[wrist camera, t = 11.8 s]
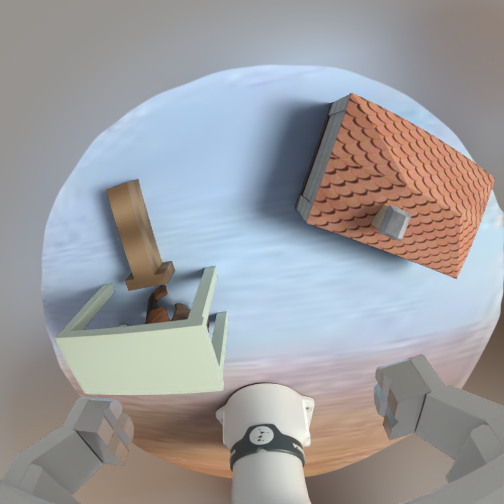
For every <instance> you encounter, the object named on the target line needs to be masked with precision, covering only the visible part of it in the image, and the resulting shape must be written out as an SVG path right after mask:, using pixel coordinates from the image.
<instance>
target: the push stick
mask: <svg viewBox="0 0 504 504" xmlns="http://www.w3.org/2000/svg"><path fill="white" fill-rule="evenodd" d="M106 191H107V194H108V198H109V202H110V205H111V209H112V212H113V216H114V219H115V222H116V226H117V229H118V232H119V235H120V238H121V242H122V245H123V248H124V251H125V254H126V257H127V260H128V263H129V266H130V268H131V271H132V274H131V275H130V276H129V277H128V278H127V279H126V281H125V282H126V285H127V288H128V290H129V291H130V290H136V289H141V288H146V287H152V286H157V285H162V284H167V283H168V282H169V280H170V278H171V277H172V275H173V273H174V271H175V269H174V266H173V263H172V261H170V262H165V263H162V260H161V257H160V254H159V250H158V247H157V244H156V241H155V237H154V234H153V231H152V227H151V224H150V220H149V217H148V213H147V210H146V206H145V203H144V199H143V195H142V192H141V188H140V184H139V180H138V179H137V180H134V181H131V182H128V183H125V184H122V185H118V186H115V187H113V188H110V189H107V190H106Z"/></svg>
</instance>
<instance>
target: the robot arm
mask: <svg viewBox="0 0 504 504" xmlns="http://www.w3.org/2000/svg"><path fill="white" fill-rule="evenodd" d="M375 377H376V380H377V382H378V383H377V385H376V386H375V387H374V400H375V405H376V409H377V411H378V414H379V415H381V416H382V417H384V423H383V426H384V428H385V431H386V433H387V435H388V438H389V440H393V439H396V438H399V437H403V436H406V435H409V434H412V433H415V434H416V435H417V436H419V437H420V438H422V439H423V440H425V441H426V442H428V443H429V444H431V445H432V446H434V447H435V448H437V449H439V450H440V451H442V452H443V453H445V454H446V455H448V456H449V457H451V458H453V459H454V460H455V461H454V463H453V465H452V467H451V468H450V470H449V471H448V473H447V475H446V479H447V481H448V483H449V484H447V485H444V486H442V487H440V488H438V489H436V490H433V491H431V492H429V493H426V494H424V495H421V496H418V497H416V498H413V499H411V500H408V501H405V502H403V503H400V504H504V406H502V405H500V404H497V403H494V402H491V401H489V400H487V399H484V398H481V397H479V396H476V395H474V394H471V393H469V392H466V391H464V390H462V389H459V388H457V387H454V386H452V385H449V386H446V385H445V384H444V382H443V381H442V379H441V378H440V377H439V375H438V374H437V372H436V371H435V370H434V368H433V367H432V365H431V364H430V363H429V361H428V360H427V359H426V357H425V356H424V355H422V354H420V355H417V356H414V357H411V358H408V359H405V360H402V361H398V362H395V363H392V364H388V365H385V366H381V367H378V368H377V370H376V376H375ZM313 409H314V399H312V398H310V397H306V396H302V395H300V394H298V393H297V392H295V391H294V390H292V389H290V388H288V387H286V386H283V385H278V384H270V383H264V384H255V385H251V386H247V387H245V388H242V389H240V390H239V391H237V392H236V393H234V394H233V395H232V396H231V397H230V399H229V400H228V402H227V403H226V405H225V406H223V407H221V408H220V409H218V410H217V411H216V418H217V419H218V420H219V422H220V423H221V424H222V426H223V444H224V445H226V447H227V448H228V449H229V450H230V451H231V454H230V468H231V471H232V472H233V475H232V501H231V503H232V504H311V502H310V500H309V497H308V493H307V489H306V484H305V478H304V473H303V467H304V463H305V462H304V460H305V455H304V451H303V447H304V446H310V432H309V426H310V421H311V417H312V413H313ZM122 410H123V406H122V404H121V403H120V401H119V400H116V399H104V398H88V397H80V398H78V399H77V401H76V402H75V404H74V406H73V408H72V409H71V411H70V413H69V415H68V417H67V418H66V420H65V422H64V424H63V426H62V427H61V428H57V429H55V430H54V431H53V432H51V433H50V434H48V435H47V436H45V437H44V438H42V439H41V440H39V441H38V442H36V443H35V444H33V445H32V446H30V447H29V448H27V449H25V450H24V451H23V452H21V453H19V454H18V455H16V456H15V457H14V459H13V461H12V463H11V464H10V466H9V468H8V470H7V472H6V474H5V476H4V477H3V479H2V481H1V480H0V504H81V502H80V501H78V500H77V499H76V498H75V497H74V496H72V495H73V494H74V493H75V492H76V491H77V490H78V489H79V488H80V487H81V486H82V485H83V484H84V483H85V482H86V481H87V480H88V479H89V478H90V477H91V476H92V475H93V474H94V473H95V472H96V471H97V470H98V469H99V468H100V467H101V466H102V465H103V463H106V464H114V465H124V464H125V460H126V457H127V454H128V448H127V446H126V445H128V444H129V443H130V442H131V441H132V439H133V436H134V426H133V422H132V420H131V418H130V417H129V416H128V415H127V414H126V413H124V412H123V411H122Z"/></svg>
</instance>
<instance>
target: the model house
mask: <svg viewBox="0 0 504 504" xmlns="http://www.w3.org/2000/svg"><path fill="white" fill-rule="evenodd" d="M494 180H495V178H494V177H493V176H491V175H490V174H489V173H488V172H486V171H485V170H484V169H482V168H481V167H479V166H478V165H477V164H475V163H474V162H473V161H471V160H470V159H468V158H467V157H465V156H464V155H462V154H461V153H460V152H458V151H457V150H455V149H454V148H452V147H451V146H449V145H447V144H446V143H444V142H443V141H441V140H440V139H438V138H436V137H435V136H433V135H431V134H430V133H428V132H426V131H425V130H423V129H421V128H420V127H418V126H416V125H414V124H413V123H411V122H409V121H407V120H405V119H404V118H402V117H400V116H398V115H396V114H394V113H392V112H390V111H388V110H387V109H385V108H383V107H381V106H379V105H377V104H375V103H372V102H370V101H368V100H366V99H364V98H362V97H360V96H358V95H355V94H353V93H350V94H349V95H347V96H345V97H343V98H341V99H339V100H337V101H335V102H332V103H331V105H330V108H329V111H328V114H327V117H326V120H325V123H324V126H323V129H322V132H321V135H320V138H319V141H318V144H317V146H316V149H315V152H314V155H313V158H312V161H311V164H310V167H309V169H308V172H307V175H306V178H305V181H304V184H303V186H302V189H301V192H300V195H299V198H298V200H297V203H296V206H295V209H296V210H297V211H298V212H299V213H300V215H301V216H302V217H303V219H304V220H305V223H307V224H310V225H313V226H316V227H319V228H322V229H325V230H328V231H330V232H333V233H336V234H339V235H342V236H345V237H347V238H350V239H353V240H356V241H359V242H361V243H364V244H367V245H370V246H372V247H375V248H378V249H381V250H383V251H386V252H389V253H391V254H394V255H397V256H399V257H402V258H405V259H407V260H410V261H412V262H415V263H418V264H420V265H423V266H425V267H428V268H430V269H433V270H435V271H438V272H440V273H443V274H445V275H448V276H450V277H453V278H455V279H457V277H458V275H459V273H460V271H461V268H462V266H463V264H464V262H465V259H466V257H467V255H468V252H469V250H470V248H471V245H472V243H473V240H474V238H475V235H476V233H477V230H478V228H479V225H480V222H481V220H482V217H483V214H484V211H485V208H486V205H487V202H488V199H489V196H490V193H491V190H492V187H493V183H494Z"/></svg>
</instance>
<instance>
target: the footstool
mask: <svg viewBox="0 0 504 504" xmlns="http://www.w3.org/2000/svg"><path fill="white" fill-rule="evenodd" d="M217 277H218V275H217V270H216V266H213V267H207V268H205V270H204V273H203V276H202V279H201V281H200V284H199V287H198V290H197V293H196V296H195V299H194V302H193V305H192V308H191V311H190V313H189V316H188V319H186V320H178V321H170V322H161V323H152V324H143V325H134V326H128V325H127V324H123V325H119V326H118V327H113V328H102V329H89V330H84V329H85V327H86V326H87V325H88V324H89V322H90V321H91V320H92V319H93V317H94V316H95V315H96V314H97V312H98V311H99V310H100V309H101V308H102V306H103V305H104V304H105V303H106V302H107V300H108V299H109V298H110V297H111V296H112V294H113V293H114V292H115V291H114V289H113V286H112V283H110V284H104V285H103V286H102V287H101V288H100V289H99V290H98V291H97V292H96V293H95V294H94V296H93V297H92V298H91V299H90V300H89V301H88V302H87V303H86V304H85V305H84V306H83V307H82V309H81V310H80V311H79V312H78V313H77V314H76V315H75V316H74V317H73V319H72V320H71V321H70V322H69V323H68V324H67V325H66V327H65V328H64V329H63V330H62V331H61V332H59V333H58V334H57V335H56V337H55V338H54V339H55V341H56V343H57V345H58V347H59V349H60V351H61V352H62V354H63V356H64V358H65V360H66V362H67V364H68V365H69V367H70V369H71V371H72V373H73V374H74V376H75V378H76V379H77V381H78V383H79V384H80V386H81V388H82V389H83V391H84V393H85V394H105V395H159V394H183V393H198V392H211V391H222V390H223V387H224V380H223V377H222V376H223V367H224V358H225V349H226V339H227V330H228V322H229V319H228V315H227V312H221V313H217V315H216V321H215V326H214V332H213V337H212V342H211V339H210V336H209V332H208V329H207V326H206V324H207V320H208V316H209V311H210V307H211V302H212V298H213V294H214V290H215V285H216V281H217Z"/></svg>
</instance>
